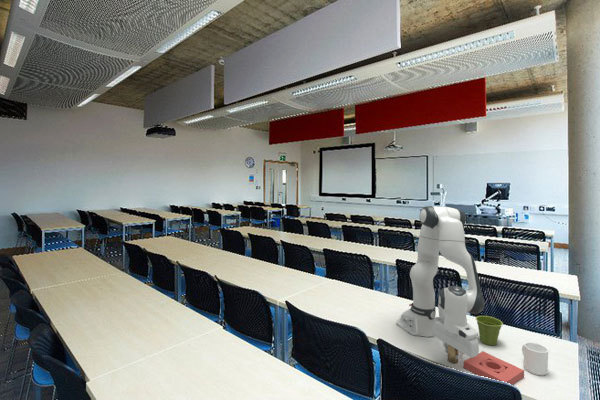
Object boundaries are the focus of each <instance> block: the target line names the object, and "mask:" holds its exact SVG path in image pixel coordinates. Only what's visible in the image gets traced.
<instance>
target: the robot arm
mask: <svg viewBox="0 0 600 400" xmlns="http://www.w3.org/2000/svg"><path fill="white" fill-rule="evenodd" d="M419 221H420V223H421V226H420V231H419V237H418V241H417V249H416V250H417V260H416V263H415V264H414V265H412V267H411V268H410V271H409V278H410V280H411V285H412V300H413V301H412V303H409V304H408V307H410V309H407V310H405V311H403V312H402V313H401V315H400V318H399V319H398V320H396V322H395V325H397V326H399V327H400V328H401V329H403V330H404V331H406V332H407V333H409V334H410V335H412V336H420V337H427V338H429V337H435V338H436V339H438V340H439V341H441V342H442V346H443V348H444V352H445V353H446V354H448V345H450V346H452V347H453V348H455V349H457V350H459V353H458V355H456V359H458V361H461V360H462V358H463V357H462V356H463V355H466V356H468V357H469V358H473V357H476V356H477V355H478V354H479V353H480V352H479V351H480V348H479V347H480V345H479V343H480V342H479V339H478V338H477V337H478V336H479V331H477V330H476V329H475V328H473V327H472V326H471V325H470V324H469V323H468V319H467V314H473V315H478V314H479V313H482V311H483V310H485V299H484V295H483V293H482V289H481V285H480V279H479V275H478V270H477V265H476V262H475V258H474V256H473V255H472V254H471V253H469V252H468V250H467V248H466V240H465V239H466V238H465V237H466V236H465V230H464V226H465V225H466V222H467V215H466V212H464V211H463V210H462V209H460V208H456V207H454V208H453V207H448V206H432V205H428V206H427V205H426V206H424V207H422V209H421V210H420V213H419ZM439 255H441V256H442V257H443V258H445V260H446V261H450V262H451V263H454V264H456V265H458V266H459V267H461V268H462V269H463V270H464V272H465V273H466V278H467V279H466V280H467V285H468V287H469V288H468V289H465V288H463V287H461V286H458V285H450V286H448V287H443V288H441V289H440V290H439V291H438V299H437V305H438V304H439V305H440V306H441V307H442V308H443V309H444V310H445V314H444V319H441V318H440V317H439V316H436V311H437V310H436V309H437V308H436V303H435V302H436V293H435V288H434V278H435V276H436V275H437V274H438V270H439V269H438V268H439V258H440V257H439Z"/></svg>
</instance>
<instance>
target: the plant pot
mask: <svg viewBox="0 0 600 400" xmlns="http://www.w3.org/2000/svg"><path fill="white" fill-rule="evenodd" d="M475 320H476V322H477V323H476V324H477V327H478V336H479V341H480V342H481V343H482V344H484V345H487V346H496V345H497V344H498V340H499V335H500V331H501V329H502V327H503V325H504V323H503V321H501V320H500V319H498V318H496V317H493V316H489V315H478V316H476V317H475Z"/></svg>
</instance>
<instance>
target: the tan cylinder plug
mask: <svg viewBox="0 0 600 400" xmlns="http://www.w3.org/2000/svg"><path fill="white" fill-rule="evenodd" d="M446 354H447V355H446V356H447V358H446V360H447V361H446V362H448V363H450V364H453V365H457V364H459V360H458V359H456V355H458V354H460V353H459V350H457V349H455V348H453V347H452V346H450V345H448V353H446Z"/></svg>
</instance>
